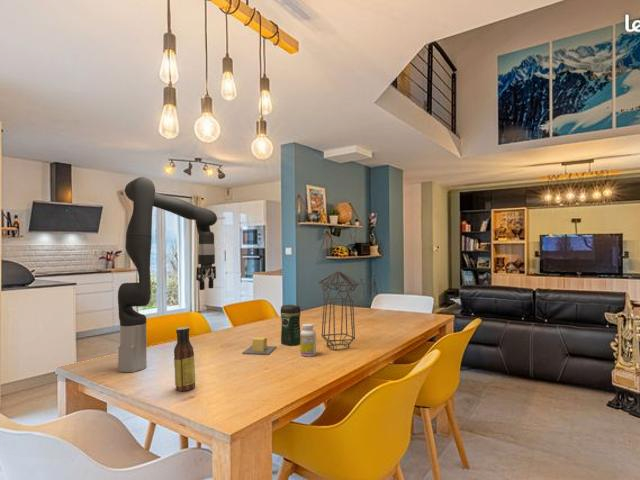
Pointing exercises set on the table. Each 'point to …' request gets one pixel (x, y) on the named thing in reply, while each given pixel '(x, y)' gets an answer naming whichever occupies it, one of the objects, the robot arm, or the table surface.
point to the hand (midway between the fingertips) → (206, 289)
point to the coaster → (265, 352)
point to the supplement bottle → (308, 340)
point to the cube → (259, 343)
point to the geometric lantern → (342, 306)
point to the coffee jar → (290, 325)
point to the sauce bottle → (184, 361)
